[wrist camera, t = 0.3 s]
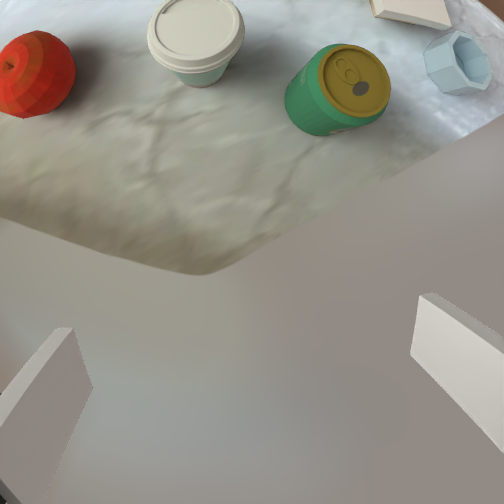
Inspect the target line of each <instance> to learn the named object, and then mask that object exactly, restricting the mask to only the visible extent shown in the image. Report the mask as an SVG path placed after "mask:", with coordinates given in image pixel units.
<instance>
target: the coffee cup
mask: <svg viewBox="0 0 504 504" xmlns="http://www.w3.org/2000/svg"><path fill="white" fill-rule="evenodd" d="M244 34H245V27H244V22H243V18H242V15H241V13H240V11H239V10H238V8H237V7H236V6H235V5H234V4H233V3H232V2H231V1H230V0H165V1H164V2H163V3H162V4H160V6H159V7H158V8H157V9H156V11H155V12H154V14H153V16H152V18H151V20H150V23H149V26H148V30H147V42H148V47H149V49H150V52H151V54H152V55H153V57H154V58H155V59H156V60H157V61H158V62H159V63H160V64H162V65H163V66H165V67H166V68H168V69H170V70H171V71H172V72H173V73H174V74H175V75H176V76H177V77H178V78H179V79H180V80H181V81H182V82H183V83H184V84H186V85H188V86H191V87H196V88H202V87H207V86H210V85H212V84H214V83H215V82H217V81H218V80H219V79H220V78H221V76H222V75H223V73H224V71H225V69H226V67H227V65H228V63H229V61H230V60H231V58H232V57H233V56H234V55H235V54H236V53H237V51H238V50H239V48H240V47H241V45H242V42H243V39H244Z"/></svg>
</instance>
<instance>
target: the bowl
mask: <svg viewBox="0 0 504 504" xmlns="http://www.w3.org/2000/svg"><path fill="white" fill-rule="evenodd" d="M423 54H424V59H425V64H426V69H427V74H428V76H429V77H430V78H431V79H432V80H433V82H434V83H435V84H436V85H437V86H438V87H439V89H440V90H441V91H442V92H443V93H447V94H453V95H464V94H468V93H473V92H478V91H483V90H486V88H487V86H488V84H489V83H490V81H491V79H492V71H491V66H490V62H489V58H488V55H487V53H486V52H485V50H484V49H483V48H482V46H481V45H480V44H479V42H478V41H477V40H476V39H475V37H474V36H473V35H470V34H467V33H464V32H461V31H458V30H455V31H453V32H451V33H449V34H446V35H444V36H442V37H440V38H438V39H436V40H434V41H432V42H431V44H430V45H429V46H428V47H427V49H426V50H425V51H424V53H423Z"/></svg>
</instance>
